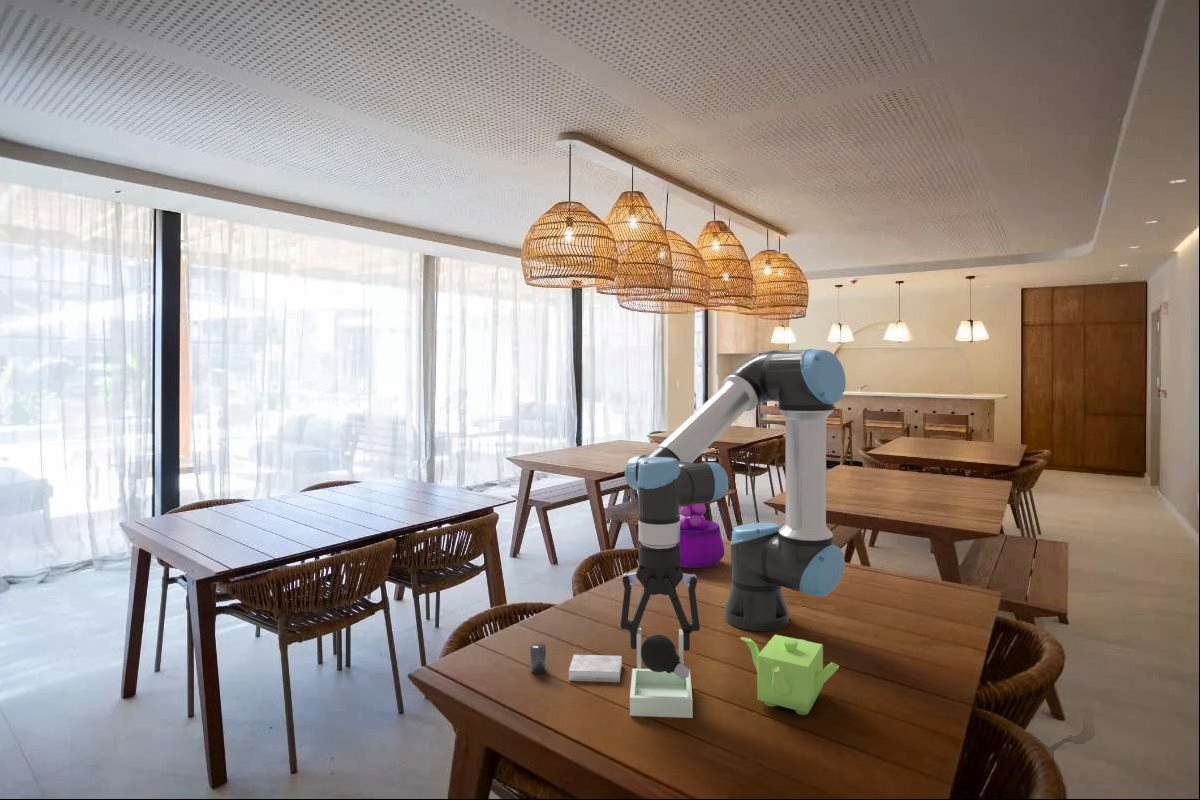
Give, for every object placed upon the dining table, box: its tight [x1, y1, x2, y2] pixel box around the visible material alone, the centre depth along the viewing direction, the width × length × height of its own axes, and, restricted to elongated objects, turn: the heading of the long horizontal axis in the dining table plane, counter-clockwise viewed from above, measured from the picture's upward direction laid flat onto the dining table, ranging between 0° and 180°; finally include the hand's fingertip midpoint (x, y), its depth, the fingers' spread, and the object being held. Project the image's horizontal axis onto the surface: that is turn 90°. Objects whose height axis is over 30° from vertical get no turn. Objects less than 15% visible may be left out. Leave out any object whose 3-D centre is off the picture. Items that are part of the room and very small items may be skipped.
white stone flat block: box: [568, 654, 623, 683], centre depth 130 cm, size 10×7×2 cm
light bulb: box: [641, 634, 690, 679], centre depth 117 cm, size 6×6×10 cm
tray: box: [629, 668, 694, 719], centre depth 119 cm, size 11×11×3 cm
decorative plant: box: [678, 503, 725, 569], centre depth 198 cm, size 19×18×30 cm
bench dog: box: [529, 642, 547, 675], centre depth 132 cm, size 3×3×5 cm
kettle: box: [740, 634, 840, 716], centre depth 118 cm, size 15×14×11 cm
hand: (660, 665), depth 119 cm, fingers closed on light bulb, 7 cm apart
